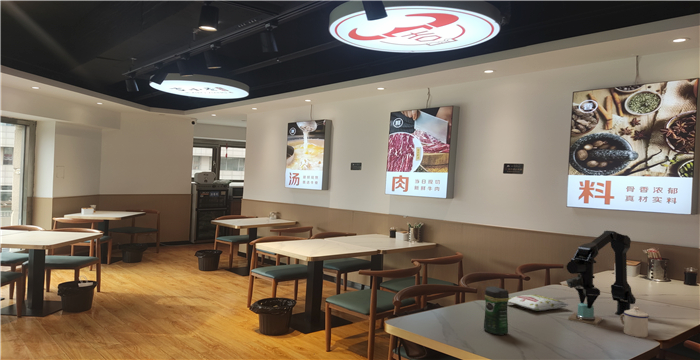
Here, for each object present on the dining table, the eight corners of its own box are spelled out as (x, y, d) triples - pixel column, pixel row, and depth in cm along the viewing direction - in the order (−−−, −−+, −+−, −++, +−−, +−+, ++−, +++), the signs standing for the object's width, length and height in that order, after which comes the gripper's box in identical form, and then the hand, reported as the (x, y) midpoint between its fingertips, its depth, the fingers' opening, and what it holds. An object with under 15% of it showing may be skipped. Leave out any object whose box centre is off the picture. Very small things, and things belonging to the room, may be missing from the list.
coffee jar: (511, 334, 189) (512, 289, 190) (496, 336, 186) (498, 290, 186) (494, 327, 198) (496, 284, 199) (480, 329, 195) (481, 285, 195)
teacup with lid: (653, 337, 193) (654, 309, 194) (637, 338, 190) (638, 310, 191) (628, 328, 205) (628, 302, 205) (612, 329, 202) (613, 303, 202)
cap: (596, 316, 215) (596, 306, 215) (586, 317, 212) (586, 307, 212) (584, 313, 221) (584, 302, 221) (574, 314, 218) (574, 303, 218)
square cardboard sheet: (574, 314, 225) (574, 304, 225) (602, 319, 217) (602, 309, 217) (568, 319, 215) (568, 309, 215) (597, 325, 208) (597, 314, 208)
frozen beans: (570, 298, 233) (534, 302, 222) (570, 310, 232) (534, 314, 221) (537, 291, 251) (502, 294, 240) (537, 302, 251) (502, 305, 240)
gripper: (562, 268, 227) (561, 300, 227) (574, 275, 209) (573, 309, 208) (586, 269, 225) (585, 301, 225) (601, 276, 207) (600, 311, 207)
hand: (585, 305), depth 216 cm, fingers open, 9 cm apart
